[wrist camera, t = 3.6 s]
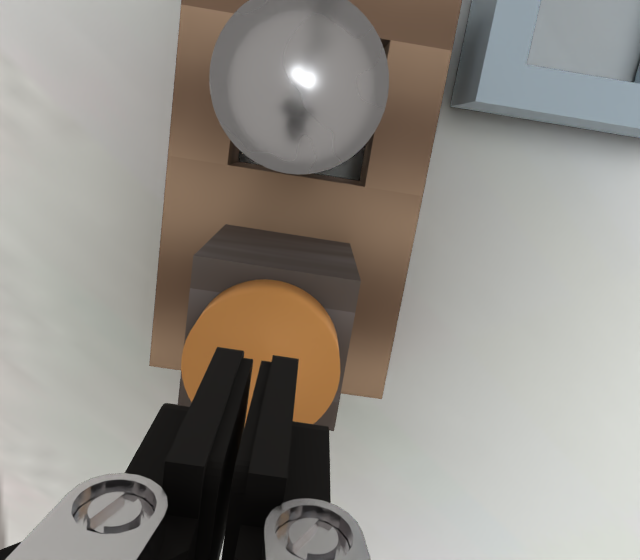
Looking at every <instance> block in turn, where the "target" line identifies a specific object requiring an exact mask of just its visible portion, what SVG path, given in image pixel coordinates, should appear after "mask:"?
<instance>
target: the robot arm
mask: <svg viewBox="0 0 640 560" xmlns="http://www.w3.org/2000/svg"><path fill="white" fill-rule="evenodd" d="M298 363H299V359H297V358H290V357H283V356H276V355H273V357H272V362H269V361H262V360H261V364H260V368H259V372H258V376H257V380H256V384H255V388H254V392H253V396H252V400H251V404H250V408H249V411H248V415H247V419H246V412H247V404H248V397H249V389H250V382H251V375H252V367H253V359H248V358H244V351H242V350H235V349H228V348H222V347H217V348H216V351H215V353H214V355H213V357H212V359H211V361H210V364H209V366H208V368H207V370H206V372H205V375H204V377H203V379H202V381H201V383H200V385H199V388H198V390H197V392H196V394H195V396H194V399H193V401H192V403H191V405H190V407H189V406H182V405H175V404H168V403H165V404H163V406H162V407H161V409H160V411H159V412H158V414H157V416H156V418H155V420H154V421H153V423H152V425H151V427H150V429H149V430H148V432H147V434H146V436H145V438H144V439H143V441H142V443H141V445H140V447H139V448H138V450H137V452H136V454H135V456H134V457H133V459H132V461H131V463H130V465H129V466H128V468H127V470H126V472H125V473H117V474H106V475H102V476H98V477H94V478H91V479H89V480H87V481H85V482H83V483H81V484H79V485H77V486H76V487H75V488H74V489H72V490H71V491H70V492H69V493H67V494H66V496H65V497H64V498H63V499H62V500H61V501H60V502H59V503H58V504H57V505H56V506H55V507H54V508H53V509H52V510H51V511H50V512H49V514H48V515H47V516H46V517H45V518H44V519H43V520H42V521H41V522H40V523H39V524H38V525H37V526H36V527H35V528H34V529H33V531H32V532H31V533H30V534H29V535H28V536H27V537H26V538H25V539H24V540H23V541H22V542H19V543H17V544H14V545H12V546H9V547H7V548H4V549H2V550H0V560H219V557H220V553H221V549H222V544H223V540H224V545H223V552H222V560H371V559H370V555H369V552H368V549H367V545H366V542H365V538H364V535H363V532H362V530H361V528H360V526H359V524H358V522H357V521H356V520H355V519H354V518H353V517H352V516H351V515H350V514H349V513H348V512H346V511H345V510H343V509H341V508H340V507H338V506H337V505H334V504H331V503H330V454H329V427H328V426H322V425H315V424H308V423H301V422H294V421H293V413H294V403H295V393H296V383H297V373H298ZM245 419H246V423H245ZM224 536H225V537H224Z"/></svg>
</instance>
